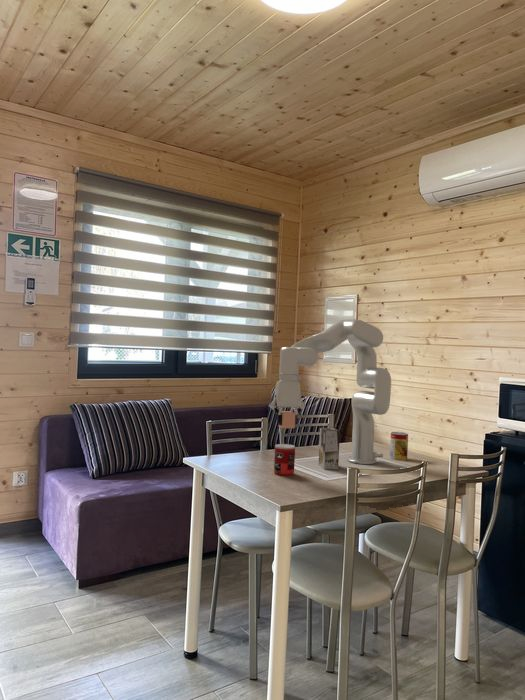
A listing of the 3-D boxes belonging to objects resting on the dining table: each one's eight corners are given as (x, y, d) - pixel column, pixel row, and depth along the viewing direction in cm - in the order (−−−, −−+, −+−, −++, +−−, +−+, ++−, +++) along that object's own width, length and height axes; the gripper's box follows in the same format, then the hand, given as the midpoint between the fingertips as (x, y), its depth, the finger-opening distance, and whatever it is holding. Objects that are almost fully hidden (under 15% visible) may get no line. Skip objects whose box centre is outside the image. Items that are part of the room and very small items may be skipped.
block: (290, 426, 209) (291, 411, 209) (294, 428, 204) (295, 412, 204) (278, 426, 207) (279, 411, 207) (282, 428, 203) (283, 412, 203)
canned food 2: (410, 460, 242) (411, 434, 242) (396, 460, 240) (397, 434, 240) (400, 456, 250) (401, 431, 250) (386, 457, 247) (387, 431, 247)
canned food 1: (272, 471, 209) (273, 443, 209) (292, 471, 210) (293, 444, 210) (274, 475, 202) (276, 447, 202) (295, 476, 202) (296, 447, 202)
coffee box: (338, 469, 217) (340, 430, 217) (323, 469, 216) (325, 430, 216) (332, 464, 226) (334, 427, 226) (318, 464, 225) (319, 426, 225)
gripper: (305, 378, 212) (303, 423, 212) (265, 377, 207) (263, 423, 207) (312, 379, 205) (310, 426, 205) (271, 378, 200) (268, 426, 200)
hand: (286, 424), depth 206 cm, fingers closed on block, 5 cm apart
